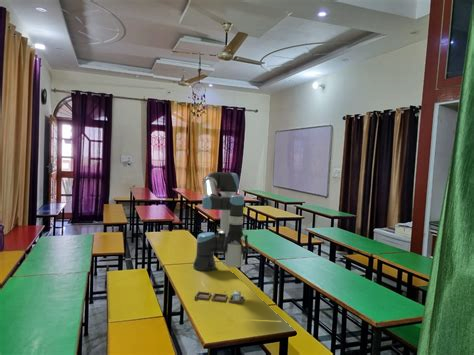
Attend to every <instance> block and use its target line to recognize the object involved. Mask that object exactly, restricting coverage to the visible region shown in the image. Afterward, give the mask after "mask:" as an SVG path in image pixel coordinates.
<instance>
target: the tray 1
mask: <svg viewBox="0 0 474 355" xmlns="http://www.w3.org/2000/svg"><path fill="white" fill-rule="evenodd" d="M199 291H200V290H199ZM199 291H197V292H196V294H195V296H194V298H193V299H194V300H195V301H198V300H202V301H203V300H204V301H209V299H211V296H212V292H205V291H200V292H199Z"/></svg>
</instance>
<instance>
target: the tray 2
mask: <svg viewBox="0 0 474 355" xmlns="http://www.w3.org/2000/svg"><path fill="white" fill-rule="evenodd" d="M228 297H229V296H228V294H226V293H225V294H224V293H216V292H215V293H213V295H212V297H211V298H210V299H211V301H212V302H220V303H221V302H222V303H226V301H227V299H228Z"/></svg>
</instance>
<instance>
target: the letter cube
mask: <svg viewBox="0 0 474 355" xmlns="http://www.w3.org/2000/svg"><path fill="white" fill-rule="evenodd" d="M241 294H242V291H232V295H233V301H241V296H242V295H241Z"/></svg>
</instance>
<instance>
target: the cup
mask: <svg viewBox="0 0 474 355" xmlns="http://www.w3.org/2000/svg"><path fill="white" fill-rule="evenodd" d="M242 253H243V252H242V250H241V245H239V242H237V243H236V242H231V243H230V244H228V248H227V264H226V266H227V267H229V268H232V269H233V268H236V269H237V268H240V267H242V266H241V254H242Z"/></svg>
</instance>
